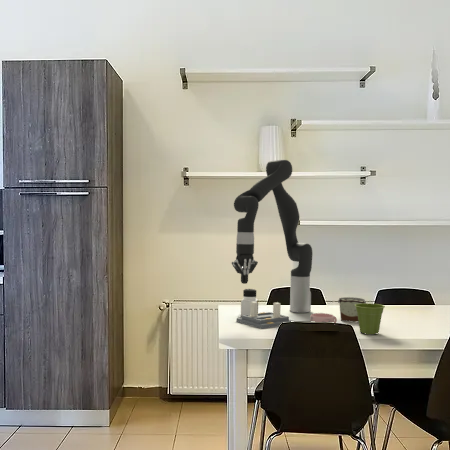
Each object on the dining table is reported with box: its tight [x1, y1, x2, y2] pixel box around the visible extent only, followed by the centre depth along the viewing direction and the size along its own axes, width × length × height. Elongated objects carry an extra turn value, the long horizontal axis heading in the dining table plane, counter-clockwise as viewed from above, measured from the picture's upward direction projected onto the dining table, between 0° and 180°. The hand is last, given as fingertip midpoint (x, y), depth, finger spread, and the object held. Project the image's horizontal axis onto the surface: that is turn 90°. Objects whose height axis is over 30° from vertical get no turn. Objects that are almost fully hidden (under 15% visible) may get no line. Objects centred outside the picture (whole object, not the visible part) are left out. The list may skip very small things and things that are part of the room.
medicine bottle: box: [240, 288, 259, 316], centre depth 263 cm, size 7×7×12 cm
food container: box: [337, 296, 367, 322], centre depth 254 cm, size 12×6×10 cm, turn 71°
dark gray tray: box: [236, 311, 294, 330], centre depth 244 cm, size 18×17×3 cm
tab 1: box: [249, 301, 259, 317], centre depth 245 cm, size 4×3×7 cm
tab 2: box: [271, 302, 281, 318], centre depth 243 cm, size 4×3×7 cm
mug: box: [309, 312, 338, 324], centre depth 234 cm, size 12×10×6 cm
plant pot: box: [355, 302, 385, 335], centre depth 227 cm, size 12×12×11 cm
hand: (244, 283), depth 241 cm, fingers closed
